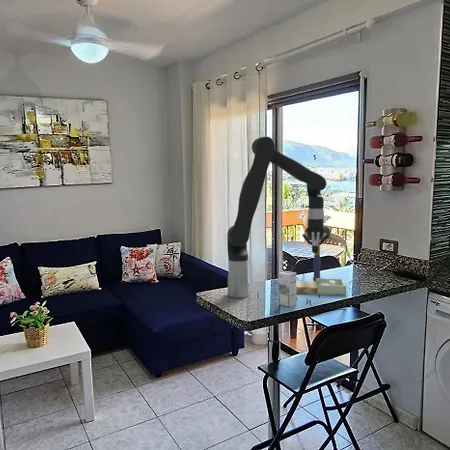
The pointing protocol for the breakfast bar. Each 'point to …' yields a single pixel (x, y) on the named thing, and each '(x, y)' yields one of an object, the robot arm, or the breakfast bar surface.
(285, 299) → the syrup box
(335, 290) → the tray
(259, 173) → the robot arm
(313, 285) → the board
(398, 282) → the breakfast bar surface
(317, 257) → the rubber mallet
